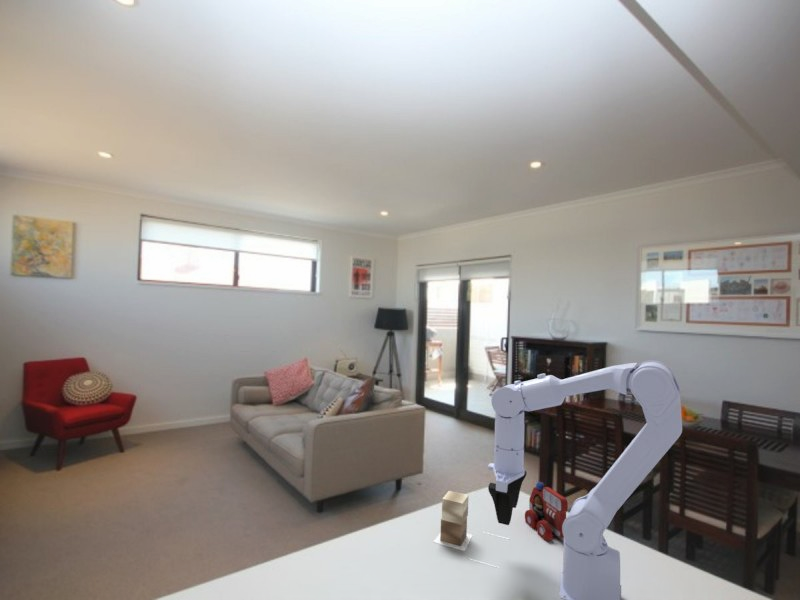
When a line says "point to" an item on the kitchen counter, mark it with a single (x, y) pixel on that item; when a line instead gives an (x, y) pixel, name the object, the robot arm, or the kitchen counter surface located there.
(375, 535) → the kitchen counter surface
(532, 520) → the toy fire truck
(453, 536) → the walnut block
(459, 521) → the maple block
